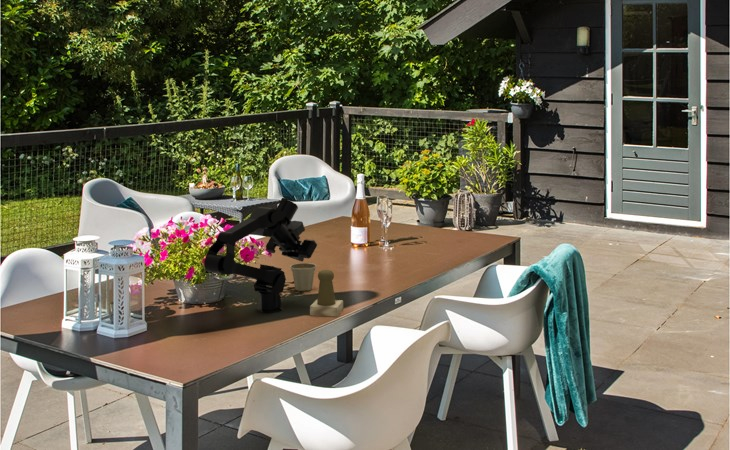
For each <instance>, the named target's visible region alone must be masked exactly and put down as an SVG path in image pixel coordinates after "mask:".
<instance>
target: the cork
mask: <svg viewBox="0 0 730 450" xmlns="http://www.w3.org/2000/svg"><path fill="white" fill-rule="evenodd" d="M334 278H335V274H334V271H333V270H331V269H323V270H320V271H318V273H317V279H318V281H319V283H318V284H319V285H318V294H317V299H318V300H317V304H318V305H321V306H330V305H334V304H335V303H336V302H335V300H336V296H335V288H334V284H333V280H334Z"/></svg>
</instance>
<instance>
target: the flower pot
mask: <svg viewBox="0 0 730 450" xmlns="http://www.w3.org/2000/svg"><path fill="white" fill-rule="evenodd" d="M289 268H290V269H291V272H292V277H293V283H294V289H295V290H296V291H298V292H305V291H312V290H313V287H314V277H315V271H316V268H317V264H315V263H312V262H311V263H309V262H298V263H293V264H291V265H290V266H289Z"/></svg>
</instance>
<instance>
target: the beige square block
mask: <svg viewBox="0 0 730 450" xmlns="http://www.w3.org/2000/svg"><path fill="white" fill-rule="evenodd" d="M317 300H318V298H317V299H315V300H314V301H313V303H312V304H311V305H309V316H316V317H336V318H337V317H338V316H340V314H341V312H343V311H344V300H342V299H341V300H340V299H339V300H338V299H335V302H336V303H335V304H334V305H330V306H321V305H318V304H317Z"/></svg>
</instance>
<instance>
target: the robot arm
mask: <svg viewBox="0 0 730 450" xmlns="http://www.w3.org/2000/svg"><path fill="white" fill-rule="evenodd" d="M298 209H299V207H298V205H297V204H296V202H293V201H291V200H289V199H288V198H287V197H281V199H280V201H279V203H278V205H277V206H276V209H275V208H273V207H266V206H265V207H264V206H258V207H256V209H253V211H251V213H250V215H249V216H248V217H247V218H246V219H244V220H242V221H241V222H239V223H237V224H235V225H233V226H231V227H230V228H228V229H226V230H225V231H222V232H219V234H218V235H217V237H216V240H215V241H214V243H213V244H211V246H210V247H209V248H208V250H207V253H206V256H205V258H204V261H203V262H204V263H203V264H204V270H205V271H206V272H208V273H214V274H219V275H237V276H241V277H245V278H247V279H248V278H249V279H253V280H255V283H254V284H253V289H254V291H255V292H258V306H257V310H258V311H260V312H261V313H263V314H265V313H267V314H268V313H273V312H274V313H275V312H281V311H283V310H282V295H280V294H281V293H283V292H284V290H285V284H286V275H285V271H284V270H283V269H282V268H281V267H277V266H276V267H275V266H274V265H267V264H263V263H262V264H260V265H259V267H255V266H251V265H247V264H243V263H240V262H237V261H236V260H235V257H236V252H235V251H236V250H235V245H236V243H237V242H239V241H241V240H242V239H244V238H246V237H247V236H250V235H251V234H252V233H254V232H256V231H258V230H262V229H263V231H262V237H266V238H267V237H268V238H269V239H268V242H267V243H266V245H265V250H266V251H267V252H268V253H271V254H275V253H276V250H275V249H276V247H278V250H279V251H280V252H281V255H282V256H284V257H287V258H289V259H293V260H296V261H299V262H301V263H304V260H305V259H310V258H312V255H313V254H314V252H315V250H316V248H317V246H318V244H317V242H316V241H315V240H314V239H308V238H307V239H303V241H302V240H300V239H301V237H300V235H301V234H302V233H303V232H305V231H306V228H305V225H304V223H303V221H302V220H301V221H299V220H292V219H293V218H294V216H295V214H296V212H297V211H298ZM224 246H225V248H226V249H225V250H226V254H225V255H222V254H218V253H219V252H220V251H221V250H222V249H223V248H224Z"/></svg>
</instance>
